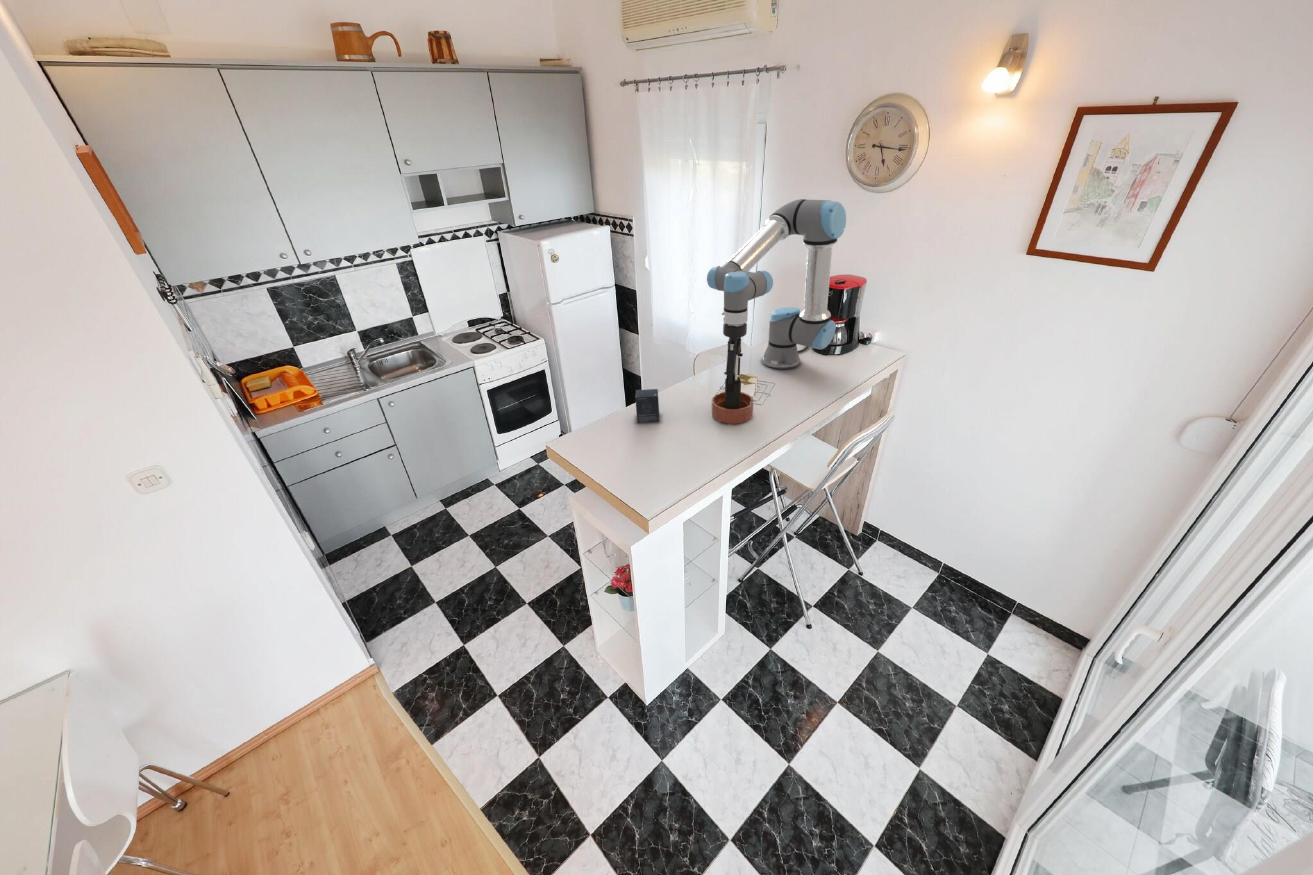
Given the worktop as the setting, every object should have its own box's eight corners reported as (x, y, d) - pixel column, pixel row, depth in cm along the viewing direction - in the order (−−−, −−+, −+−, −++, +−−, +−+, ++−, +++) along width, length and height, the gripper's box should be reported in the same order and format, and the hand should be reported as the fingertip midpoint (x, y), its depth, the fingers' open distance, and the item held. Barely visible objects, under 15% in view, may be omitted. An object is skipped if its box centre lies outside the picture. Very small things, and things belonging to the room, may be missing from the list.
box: (659, 414, 181) (658, 388, 176) (659, 422, 176) (657, 395, 171) (637, 415, 181) (635, 389, 176) (637, 423, 177) (635, 396, 171)
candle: (740, 416, 176) (743, 349, 162) (725, 417, 176) (727, 350, 163) (738, 409, 180) (741, 343, 167) (724, 410, 180) (725, 344, 167)
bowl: (730, 401, 187) (731, 387, 184) (761, 415, 177) (762, 400, 174) (703, 415, 179) (703, 400, 176) (733, 429, 170) (733, 414, 166)
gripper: (728, 310, 171) (727, 367, 183) (717, 335, 151) (716, 398, 162) (751, 311, 170) (748, 368, 181) (742, 337, 149) (739, 400, 161)
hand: (733, 382), depth 172 cm, fingers open, 13 cm apart
